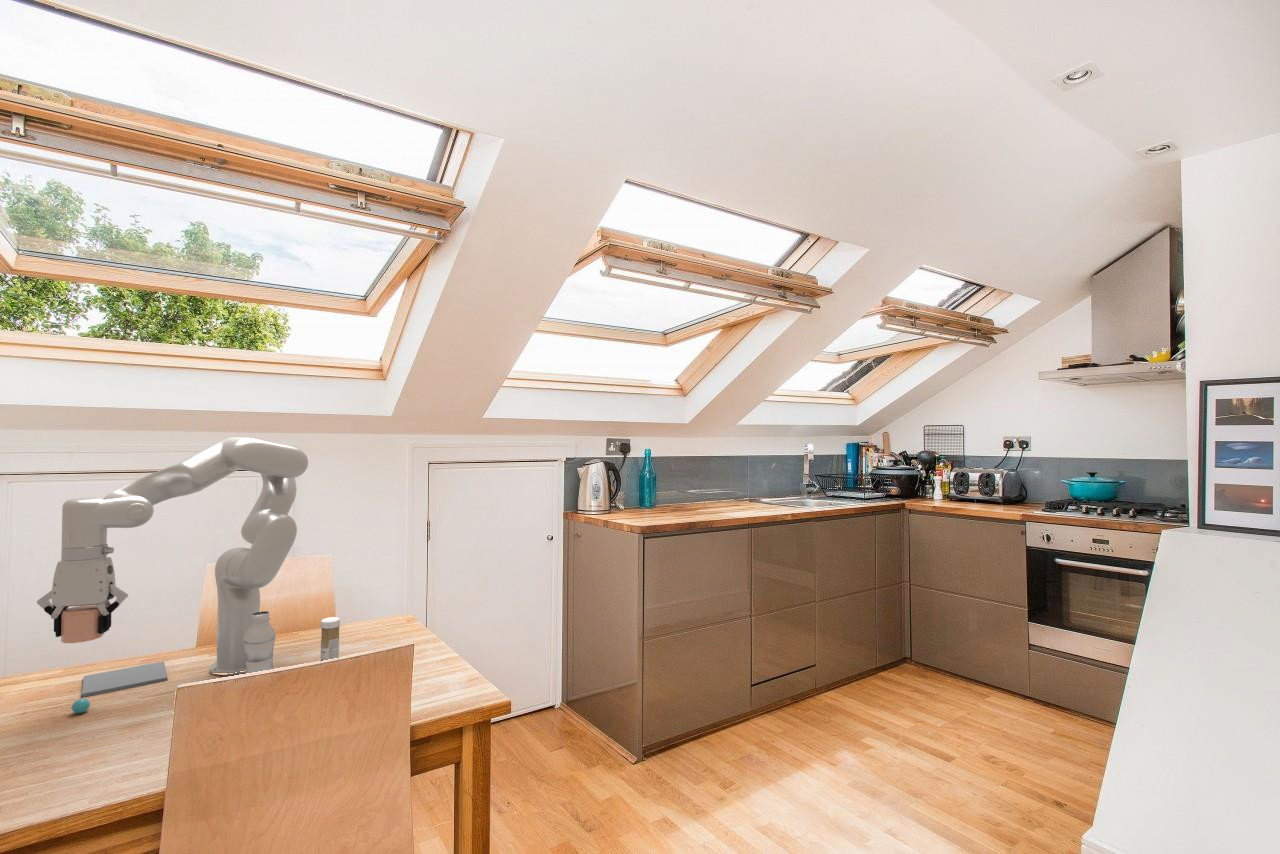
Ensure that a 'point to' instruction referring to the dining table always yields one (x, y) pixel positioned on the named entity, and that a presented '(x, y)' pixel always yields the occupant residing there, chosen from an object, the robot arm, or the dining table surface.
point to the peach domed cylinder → (80, 624)
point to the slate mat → (123, 678)
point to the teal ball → (80, 706)
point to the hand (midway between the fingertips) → (82, 632)
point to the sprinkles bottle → (330, 638)
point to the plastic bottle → (259, 643)
